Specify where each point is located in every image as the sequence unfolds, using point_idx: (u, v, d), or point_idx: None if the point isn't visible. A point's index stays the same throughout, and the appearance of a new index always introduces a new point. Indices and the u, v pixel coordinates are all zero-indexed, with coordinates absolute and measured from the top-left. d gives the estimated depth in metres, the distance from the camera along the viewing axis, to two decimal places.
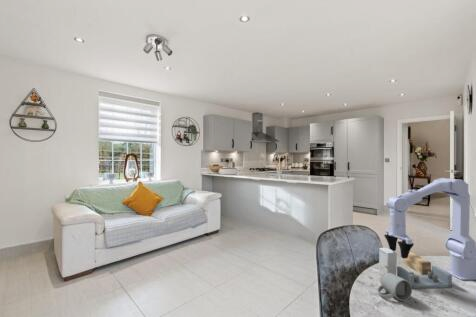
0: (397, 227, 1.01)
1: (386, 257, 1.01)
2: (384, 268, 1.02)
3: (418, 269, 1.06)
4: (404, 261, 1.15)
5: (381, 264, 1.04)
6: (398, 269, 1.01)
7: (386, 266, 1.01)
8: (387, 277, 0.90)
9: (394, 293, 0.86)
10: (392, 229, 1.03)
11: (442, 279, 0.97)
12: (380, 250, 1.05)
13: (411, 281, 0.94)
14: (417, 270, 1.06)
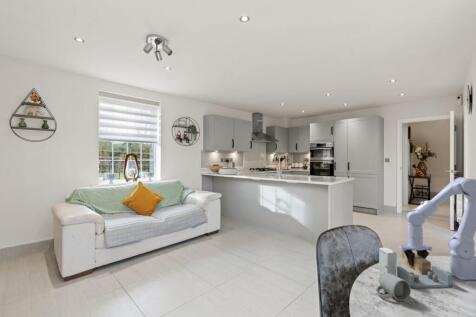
0: (408, 237, 1.12)
1: (386, 257, 1.01)
2: (384, 268, 1.02)
3: (418, 268, 1.06)
4: (404, 261, 1.15)
5: (381, 264, 1.04)
6: (398, 269, 1.01)
7: (386, 266, 1.01)
8: (386, 278, 0.90)
9: (393, 293, 0.86)
10: None
11: (442, 279, 0.97)
12: (380, 250, 1.05)
13: (411, 281, 0.94)
14: (417, 270, 1.06)
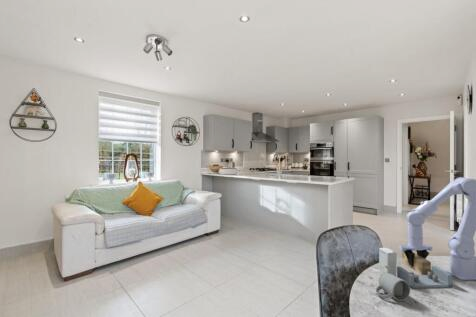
0: None
1: (386, 257, 1.01)
2: (384, 268, 1.02)
3: (418, 268, 1.06)
4: (404, 261, 1.15)
5: (381, 264, 1.04)
6: (398, 269, 1.01)
7: (386, 266, 1.01)
8: (385, 278, 0.90)
9: (392, 293, 0.86)
10: None
11: (442, 279, 0.97)
12: (380, 250, 1.05)
13: (411, 281, 0.94)
14: (417, 270, 1.06)
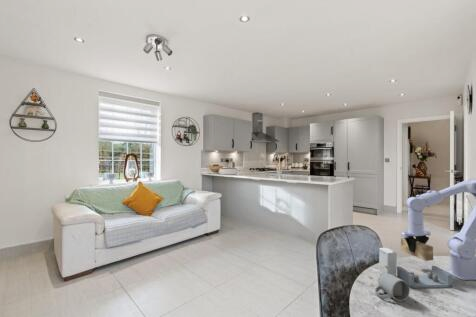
0: (408, 223, 1.10)
1: (386, 257, 1.01)
2: (384, 268, 1.02)
3: (421, 254, 1.04)
4: (403, 248, 1.13)
5: (381, 264, 1.04)
6: (398, 269, 1.01)
7: (386, 266, 1.01)
8: (385, 278, 0.90)
9: (391, 293, 0.85)
10: None
11: (442, 279, 0.97)
12: (380, 250, 1.05)
13: (411, 281, 0.94)
14: (419, 256, 1.05)
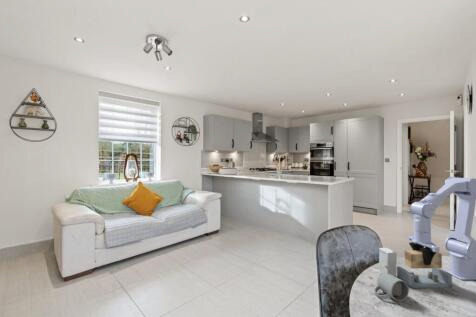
0: (422, 234, 0.96)
1: (386, 257, 1.01)
2: (384, 268, 1.02)
3: (436, 263, 0.96)
4: (414, 264, 0.96)
5: (381, 264, 1.04)
6: (398, 269, 1.01)
7: (386, 266, 1.01)
8: (384, 278, 0.90)
9: (391, 293, 0.85)
10: (416, 236, 0.98)
11: (442, 279, 0.97)
12: (380, 250, 1.05)
13: (411, 281, 0.94)
14: (435, 265, 0.96)
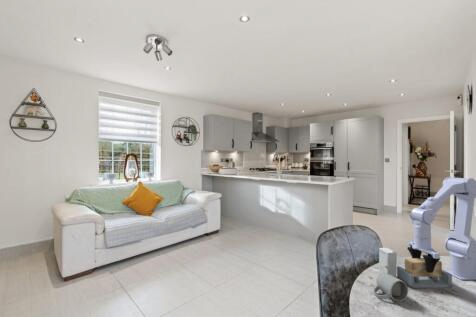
0: (422, 240, 0.96)
1: (386, 257, 1.01)
2: (384, 268, 1.02)
3: (436, 271, 0.96)
4: (415, 273, 0.96)
5: (381, 264, 1.04)
6: (398, 269, 1.01)
7: (386, 266, 1.01)
8: (383, 278, 0.90)
9: (390, 294, 0.85)
10: (416, 242, 0.98)
11: (442, 279, 0.97)
12: (380, 250, 1.05)
13: (411, 281, 0.94)
14: (435, 273, 0.96)
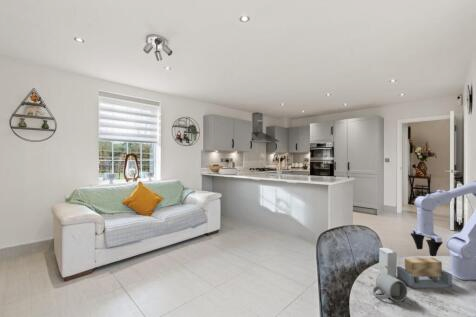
0: (425, 226, 1.03)
1: (386, 257, 1.01)
2: (384, 268, 1.02)
3: (436, 271, 0.96)
4: (415, 273, 0.96)
5: (381, 264, 1.04)
6: (398, 269, 1.01)
7: (386, 266, 1.01)
8: (382, 278, 0.90)
9: (389, 294, 0.85)
10: (420, 228, 1.05)
11: (442, 279, 0.97)
12: (380, 250, 1.05)
13: (411, 281, 0.94)
14: (435, 273, 0.96)
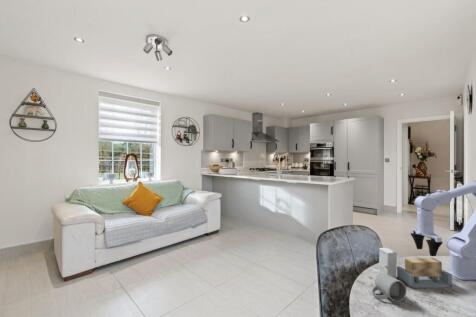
0: (425, 226, 1.03)
1: (386, 257, 1.01)
2: (384, 268, 1.02)
3: (436, 271, 0.96)
4: (415, 273, 0.96)
5: (381, 264, 1.04)
6: (398, 269, 1.01)
7: (386, 266, 1.01)
8: (382, 278, 0.90)
9: (388, 294, 0.85)
10: (420, 228, 1.05)
11: (442, 279, 0.97)
12: (380, 250, 1.05)
13: (411, 281, 0.94)
14: (435, 273, 0.96)
